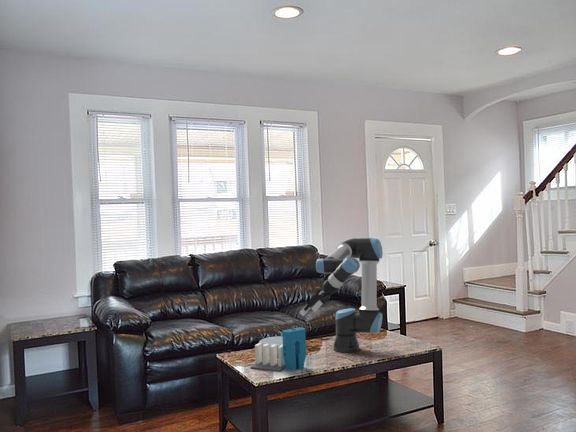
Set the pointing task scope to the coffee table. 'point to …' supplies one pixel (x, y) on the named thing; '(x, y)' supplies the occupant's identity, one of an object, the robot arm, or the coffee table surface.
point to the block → (289, 342)
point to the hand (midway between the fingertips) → (307, 312)
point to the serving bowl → (272, 341)
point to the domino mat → (268, 366)
